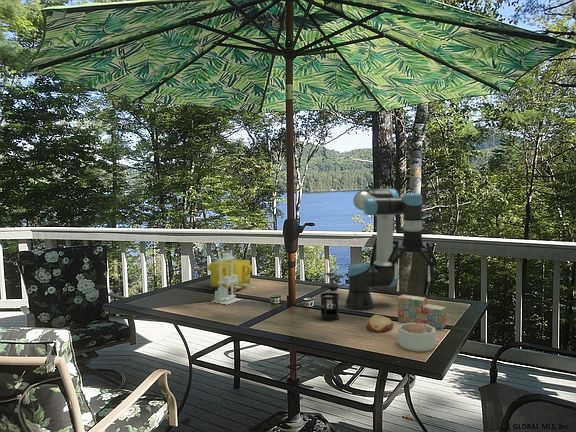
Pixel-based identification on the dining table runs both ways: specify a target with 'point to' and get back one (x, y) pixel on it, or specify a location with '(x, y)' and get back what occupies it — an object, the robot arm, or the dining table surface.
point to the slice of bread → (379, 324)
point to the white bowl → (416, 338)
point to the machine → (227, 282)
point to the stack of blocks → (420, 312)
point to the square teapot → (239, 268)
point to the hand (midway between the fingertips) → (412, 279)
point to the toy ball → (417, 328)
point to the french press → (329, 314)
